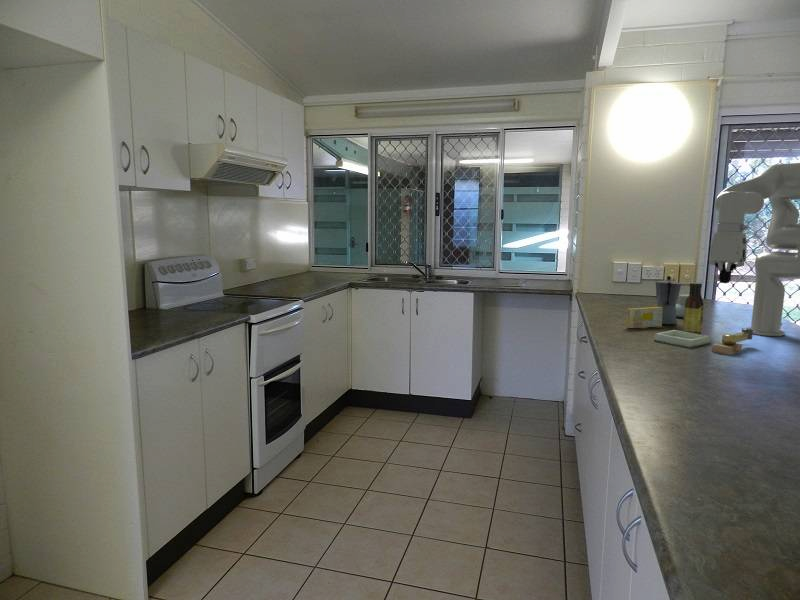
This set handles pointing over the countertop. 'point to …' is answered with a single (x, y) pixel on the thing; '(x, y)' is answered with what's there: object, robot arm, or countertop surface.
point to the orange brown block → (726, 348)
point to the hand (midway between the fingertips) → (724, 282)
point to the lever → (737, 336)
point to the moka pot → (667, 299)
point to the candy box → (644, 317)
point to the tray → (682, 338)
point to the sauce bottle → (693, 310)
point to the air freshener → (681, 305)
